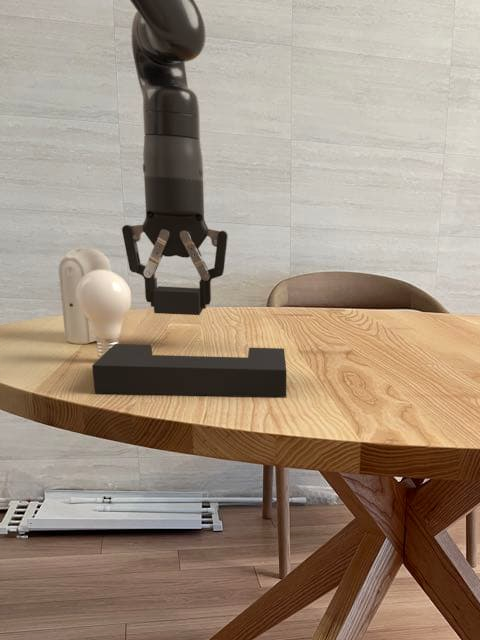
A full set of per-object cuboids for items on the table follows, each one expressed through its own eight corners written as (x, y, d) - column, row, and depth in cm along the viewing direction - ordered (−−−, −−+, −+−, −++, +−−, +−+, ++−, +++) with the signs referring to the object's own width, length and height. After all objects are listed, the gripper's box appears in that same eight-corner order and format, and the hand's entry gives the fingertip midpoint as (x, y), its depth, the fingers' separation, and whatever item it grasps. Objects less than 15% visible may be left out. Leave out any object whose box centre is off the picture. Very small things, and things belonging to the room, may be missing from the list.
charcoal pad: (94, 393, 87) (91, 365, 86) (116, 368, 99) (114, 343, 98) (286, 397, 90) (286, 369, 89) (284, 372, 103) (284, 348, 101)
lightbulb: (145, 360, 106) (140, 270, 101) (116, 367, 100) (109, 272, 96) (103, 355, 107) (95, 266, 103) (71, 362, 101) (62, 268, 97)
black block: (154, 313, 112) (152, 290, 111) (159, 308, 117) (158, 286, 116) (199, 315, 113) (198, 292, 112) (202, 310, 118) (202, 288, 117)
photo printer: (91, 345, 114) (83, 250, 109) (61, 343, 114) (51, 248, 109) (120, 334, 123) (113, 247, 118) (91, 332, 123) (84, 245, 119)
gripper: (230, 180, 113) (232, 306, 119) (121, 172, 111) (129, 302, 117) (228, 179, 106) (230, 313, 112) (111, 170, 104) (120, 308, 110)
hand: (178, 306), depth 115 cm, fingers closed on black block, 6 cm apart
